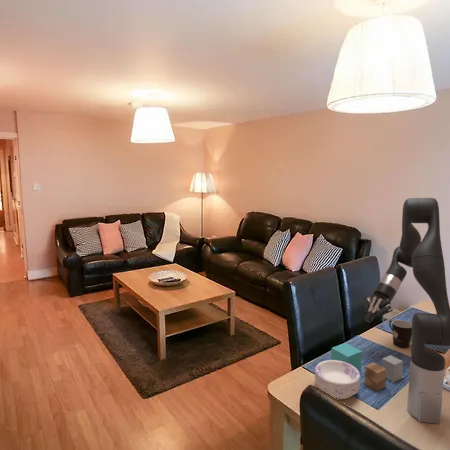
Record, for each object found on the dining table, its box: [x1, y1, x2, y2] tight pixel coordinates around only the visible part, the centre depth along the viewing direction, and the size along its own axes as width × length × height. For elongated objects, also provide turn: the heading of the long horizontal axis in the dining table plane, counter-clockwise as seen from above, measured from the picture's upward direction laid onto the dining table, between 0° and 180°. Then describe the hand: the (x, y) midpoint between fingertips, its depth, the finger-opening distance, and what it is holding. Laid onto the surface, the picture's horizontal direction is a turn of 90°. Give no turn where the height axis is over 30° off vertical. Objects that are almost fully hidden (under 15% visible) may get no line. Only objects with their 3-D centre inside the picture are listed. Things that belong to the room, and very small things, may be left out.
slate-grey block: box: [381, 354, 404, 383], centre depth 128 cm, size 5×5×7 cm
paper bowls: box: [314, 359, 361, 400], centre depth 120 cm, size 15×15×8 cm
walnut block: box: [363, 362, 387, 392], centre depth 123 cm, size 5×5×7 cm
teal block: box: [330, 342, 363, 372], centre depth 134 cm, size 8×8×8 cm
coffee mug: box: [388, 319, 412, 349], centre depth 153 cm, size 12×9×10 cm
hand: (367, 321), depth 138 cm, fingers closed
